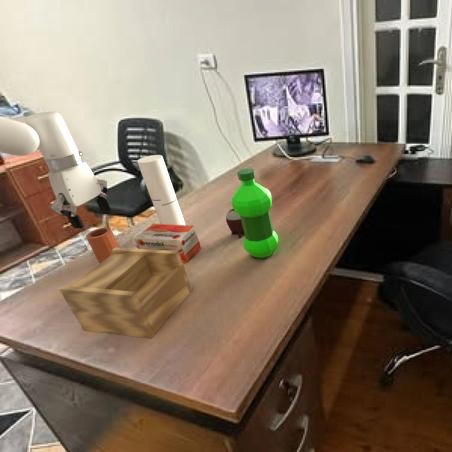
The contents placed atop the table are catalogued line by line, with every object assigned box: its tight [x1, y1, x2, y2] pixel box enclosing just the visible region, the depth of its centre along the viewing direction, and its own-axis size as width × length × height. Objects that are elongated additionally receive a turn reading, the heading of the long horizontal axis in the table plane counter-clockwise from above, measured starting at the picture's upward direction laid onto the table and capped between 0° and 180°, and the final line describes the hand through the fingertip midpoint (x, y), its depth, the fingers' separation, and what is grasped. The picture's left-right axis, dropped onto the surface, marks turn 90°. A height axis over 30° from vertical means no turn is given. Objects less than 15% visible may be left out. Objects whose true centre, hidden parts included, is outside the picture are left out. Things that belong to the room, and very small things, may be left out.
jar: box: [85, 226, 121, 264], centre depth 104 cm, size 6×6×9 cm
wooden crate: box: [58, 247, 193, 339], centre depth 81 cm, size 18×16×12 cm
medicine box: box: [134, 223, 201, 264], centre depth 103 cm, size 15×8×8 cm, turn 76°
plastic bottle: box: [231, 168, 279, 259], centre depth 95 cm, size 10×10×25 cm
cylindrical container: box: [136, 154, 186, 225], centre depth 113 cm, size 7×7×25 cm
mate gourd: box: [225, 208, 244, 239], centre depth 109 cm, size 8×8×15 cm
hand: (93, 219), depth 99 cm, fingers open, 9 cm apart
